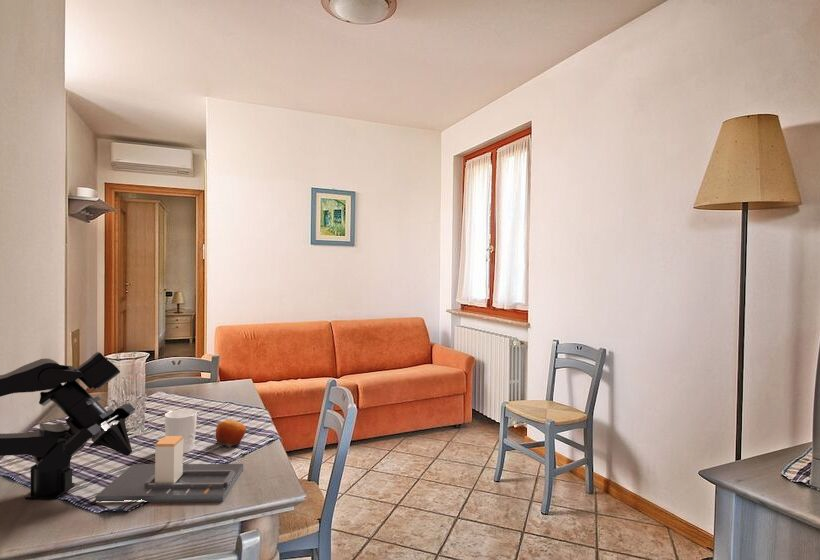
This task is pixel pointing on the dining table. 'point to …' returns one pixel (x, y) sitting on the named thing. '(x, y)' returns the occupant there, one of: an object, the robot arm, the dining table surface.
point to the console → (173, 484)
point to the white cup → (182, 426)
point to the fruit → (229, 433)
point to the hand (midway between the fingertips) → (130, 453)
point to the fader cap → (169, 459)
